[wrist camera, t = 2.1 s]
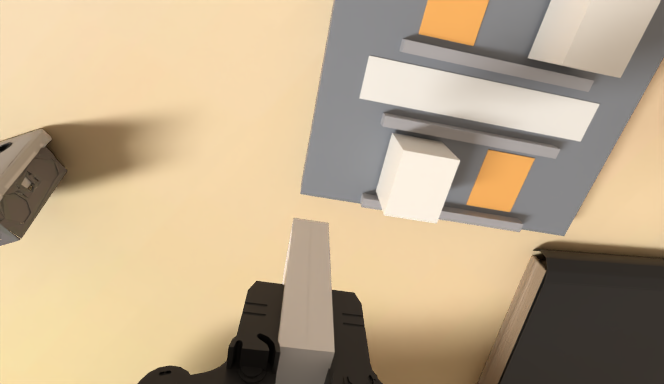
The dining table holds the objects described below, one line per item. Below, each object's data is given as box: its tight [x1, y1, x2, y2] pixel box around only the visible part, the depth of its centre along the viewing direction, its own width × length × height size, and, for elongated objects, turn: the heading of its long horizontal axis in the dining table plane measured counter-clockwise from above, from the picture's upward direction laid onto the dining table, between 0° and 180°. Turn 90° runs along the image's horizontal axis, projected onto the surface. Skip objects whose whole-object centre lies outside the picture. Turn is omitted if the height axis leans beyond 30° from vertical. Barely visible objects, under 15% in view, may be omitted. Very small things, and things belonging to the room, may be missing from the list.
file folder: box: [478, 249, 664, 384], centre depth 41 cm, size 33×4×24 cm
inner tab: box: [376, 133, 460, 223], centre depth 27 cm, size 5×4×4 cm
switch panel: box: [300, 0, 664, 236], centre depth 28 cm, size 20×24×3 cm
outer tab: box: [528, 0, 661, 78], centre depth 23 cm, size 5×4×4 cm
